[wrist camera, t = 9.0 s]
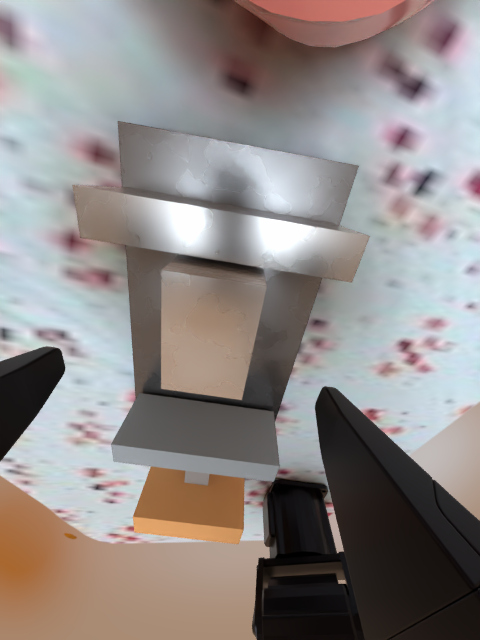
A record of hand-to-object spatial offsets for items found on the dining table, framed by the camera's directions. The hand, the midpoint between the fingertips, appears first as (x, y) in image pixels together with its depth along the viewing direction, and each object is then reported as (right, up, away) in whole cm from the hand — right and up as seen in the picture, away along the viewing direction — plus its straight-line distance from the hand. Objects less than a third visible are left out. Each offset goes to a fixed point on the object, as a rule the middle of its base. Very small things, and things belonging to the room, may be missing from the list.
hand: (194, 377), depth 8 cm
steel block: (0, +4, +8) cm, 9 cm away
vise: (0, +1, +11) cm, 11 cm away
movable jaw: (-2, -11, +16) cm, 20 cm away
